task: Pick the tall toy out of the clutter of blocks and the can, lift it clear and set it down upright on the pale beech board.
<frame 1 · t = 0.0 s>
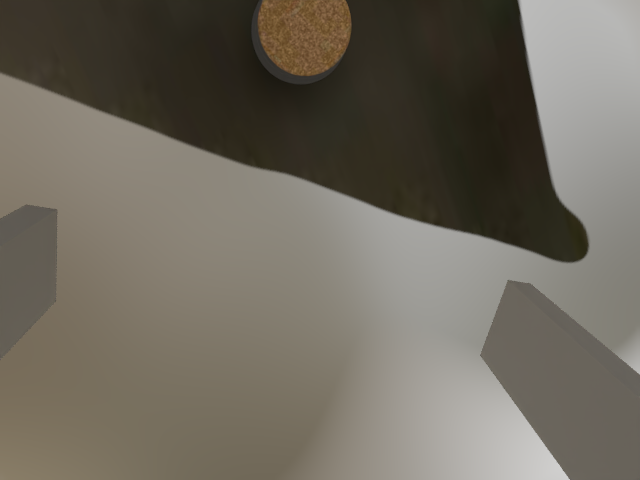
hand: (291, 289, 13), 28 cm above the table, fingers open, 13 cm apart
bottle: (293, 42, 37), on the table
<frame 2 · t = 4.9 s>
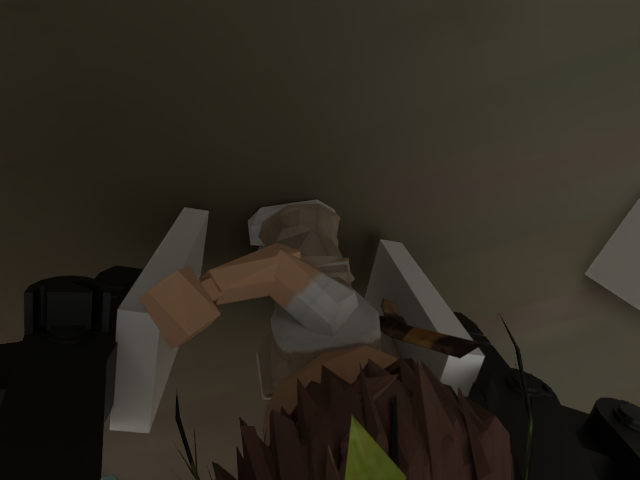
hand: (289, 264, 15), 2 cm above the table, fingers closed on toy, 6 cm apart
toy: (287, 242, 17), on the table, touching gripper
when the fingers open (4 cm above the table, at t = 10.1 s): toy moves 1 cm, resting on board.
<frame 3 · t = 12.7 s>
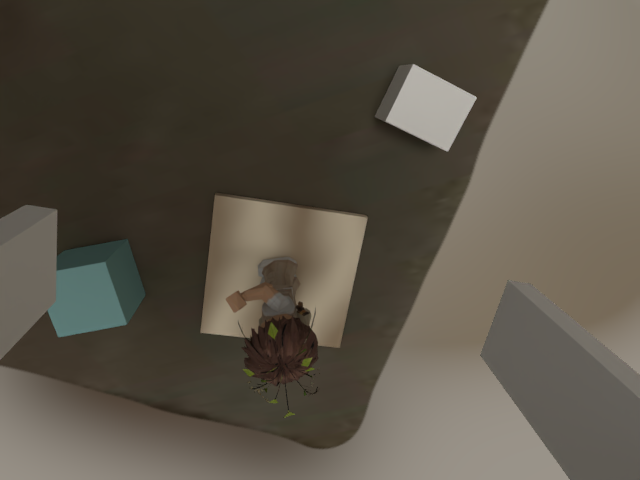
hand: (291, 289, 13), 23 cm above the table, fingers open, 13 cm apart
white block: (415, 106, 35), on the table
toy: (275, 274, 38), point 1 cm above the table, touching board
board: (281, 272, 38), on the table
teal block: (106, 272, 37), on the table
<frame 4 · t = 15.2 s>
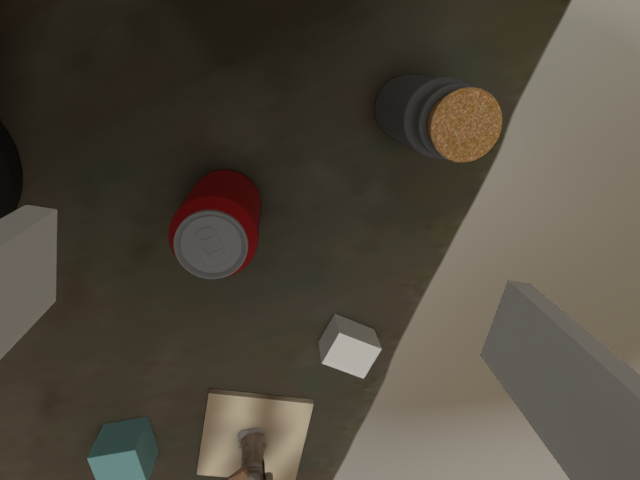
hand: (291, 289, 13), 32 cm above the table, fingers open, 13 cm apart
white block: (346, 335, 51), on the table
toy: (249, 438, 54), point 1 cm above the table, touching board
bottle: (403, 107, 43), on the table
board: (254, 435, 55), on the table
teal block: (131, 436, 53), on the table
beverage can: (226, 201, 45), on the table
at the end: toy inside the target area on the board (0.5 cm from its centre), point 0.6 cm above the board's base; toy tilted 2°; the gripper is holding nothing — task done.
